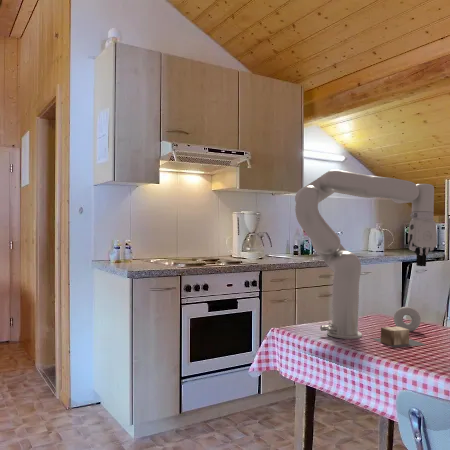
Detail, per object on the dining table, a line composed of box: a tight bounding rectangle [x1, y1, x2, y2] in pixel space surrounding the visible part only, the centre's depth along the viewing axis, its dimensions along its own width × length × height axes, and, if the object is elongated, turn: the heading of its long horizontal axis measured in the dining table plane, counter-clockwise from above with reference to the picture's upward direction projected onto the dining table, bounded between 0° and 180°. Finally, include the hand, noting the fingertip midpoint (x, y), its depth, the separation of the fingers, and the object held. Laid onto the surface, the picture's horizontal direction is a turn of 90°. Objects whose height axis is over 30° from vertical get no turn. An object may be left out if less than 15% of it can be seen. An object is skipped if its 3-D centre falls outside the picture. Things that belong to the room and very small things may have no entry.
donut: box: [393, 306, 421, 333], centre depth 179 cm, size 10×4×10 cm, turn 73°
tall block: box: [380, 326, 410, 346], centre depth 159 cm, size 5×5×8 cm
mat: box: [372, 337, 427, 348], centre depth 161 cm, size 14×12×1 cm
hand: (421, 265), depth 169 cm, fingers closed
